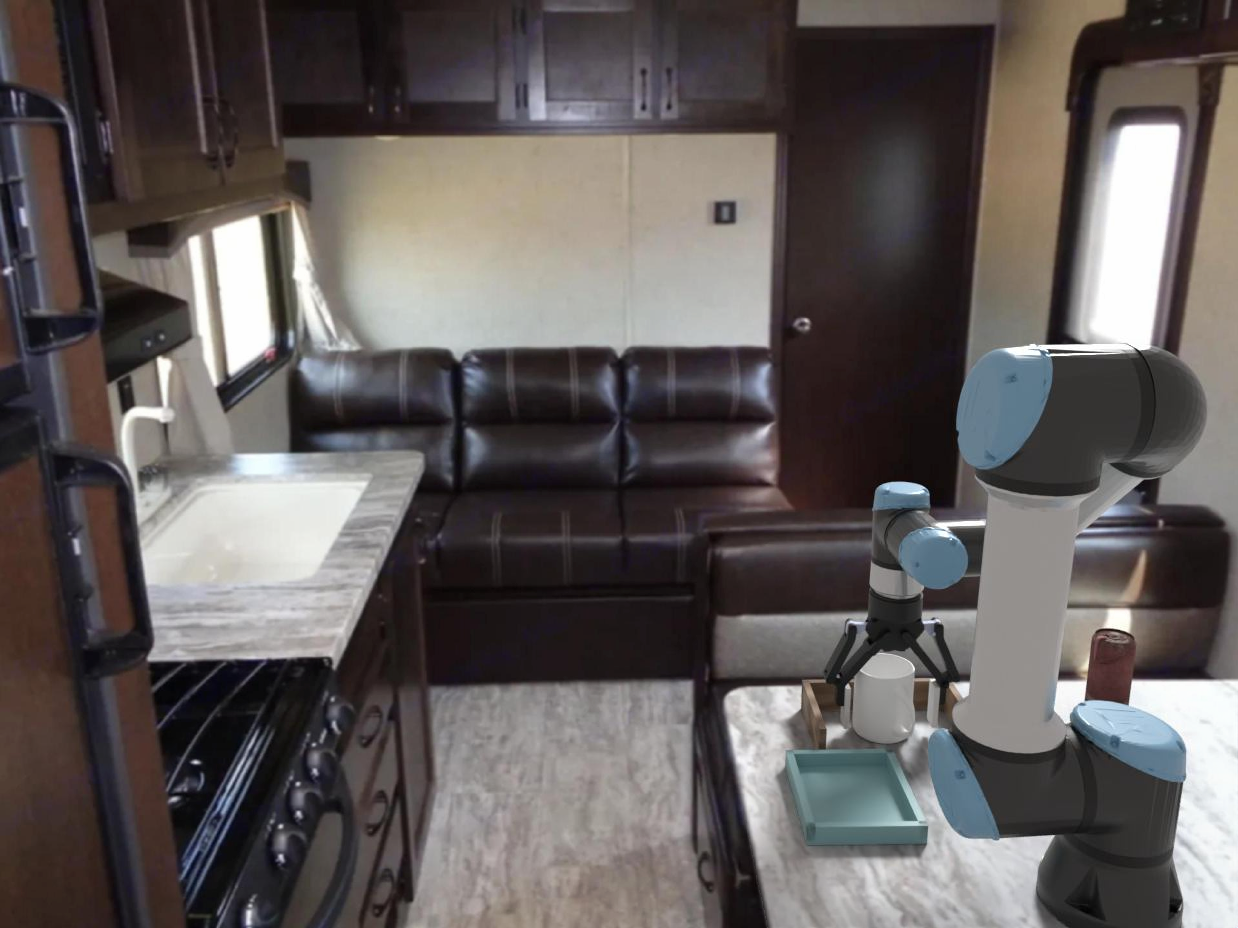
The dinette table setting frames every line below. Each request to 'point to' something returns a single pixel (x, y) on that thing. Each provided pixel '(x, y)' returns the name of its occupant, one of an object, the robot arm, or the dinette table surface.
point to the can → (1110, 666)
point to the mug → (884, 699)
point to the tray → (854, 798)
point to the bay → (822, 696)
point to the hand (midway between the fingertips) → (888, 723)
